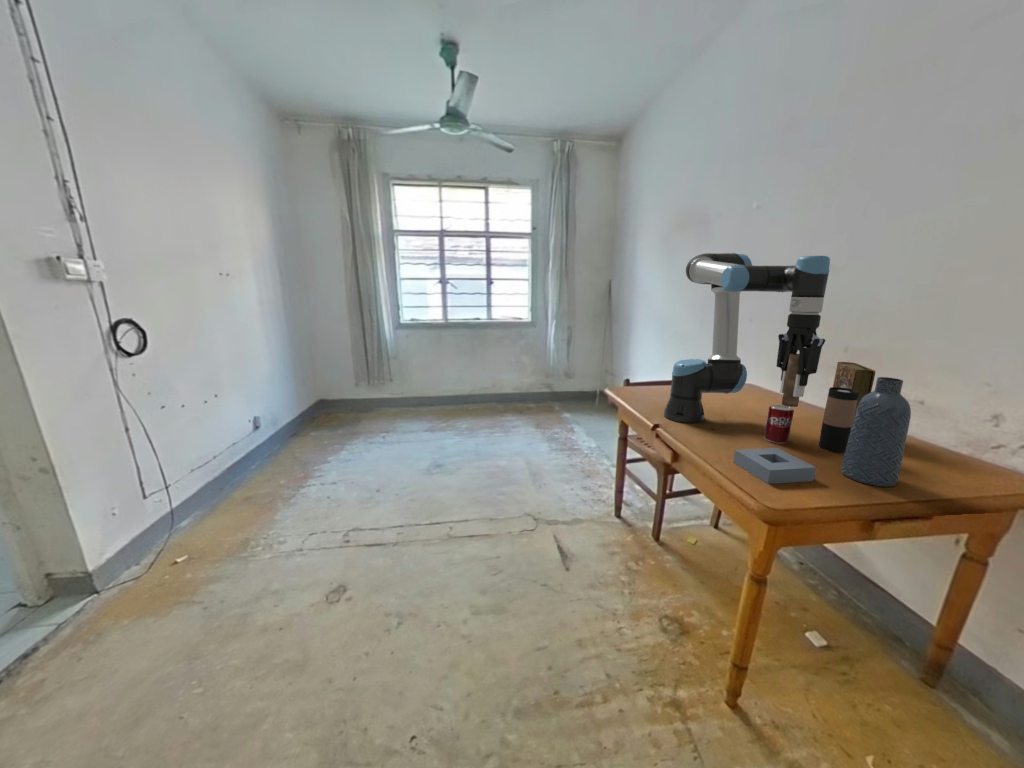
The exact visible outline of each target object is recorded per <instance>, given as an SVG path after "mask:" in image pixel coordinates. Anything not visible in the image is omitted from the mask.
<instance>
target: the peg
mask: <svg viewBox="0 0 1024 768" xmlns="http://www.w3.org/2000/svg"><path fill="white" fill-rule="evenodd" d="M797 373H799V353H797V354H790V355H789V361H788V367H787V374H786V380H785V386H784V392H783V393H782V399H781V405H784V406H788V407H791V408H797V407H798V406H799V403H800V402H799V401H800V397H794V396H793V392H794V386H795V380H796V374H797ZM798 408H799V407H798Z"/></svg>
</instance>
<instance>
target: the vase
mask: <svg viewBox="0 0 1024 768" xmlns="http://www.w3.org/2000/svg"><path fill="white" fill-rule="evenodd" d="M903 384H904V380H903V379H900V378H895V377H885V376H883V377H882V376H881V377H880V376H879V377H877V379H876V382H875V387H874V390H873V391H871V393H868V394H867V395H865V396H864V397H863V398H862V399H861V400H860V401H859V403H858V405H857V408H856V412H855V415H854V419H853V423H852V427H851V431H850V434H849V438H848V442H847V446H846V450H845V452H844V453H843V454H844V455H843V458H842V461H841V467H840V470H841V471H840V472H841V473H842V474H843V475H844V476H845V477H847V478H849V479H851V480H853V481H856V482H858V483H863V484H866V485H870V486H876V487H886V488H888V487H894V486H896V485H897V484H898V482H899V479H900V473H901V469H902V462H903V459H904V458H903V457H904V453H905V449H906V448H905V447H906V442H907V437H908V432H909V428H910V422H911V417H912V416H911V415H912V409H911V405H910V403H909V401H908V400H907V399H906V398H905V396H903V395H902V394H901V393H902V390H903V389H902V388H903Z"/></svg>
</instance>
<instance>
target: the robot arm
mask: <svg viewBox="0 0 1024 768" xmlns="http://www.w3.org/2000/svg"><path fill="white" fill-rule="evenodd" d="M830 263H831V258H830V257H829V256H827V255H804V256H799V257H798V258H797V260H796V262H795V265H753V263H752V260H751V259H750V257H749V256H748V255H747V254H743V253H735V252H731V253H729V252H727V253H709V252H708V253H702V254H699V255H695V256H694V257H692V258H691V259H690V260H689V261H688V262H687V265H686V267H685V275H686V277H687V279H688V280H689V281H690V282H692V283H695V284H699V285H710V286H711V287H710V290H711V292H713V294H714V309H713V310H714V311H713V313H714V314H713V332H712V333H713V334H712V349H711V350H712V353H711V355H710V356H709V358H707V361H706V360H704V359H702V358H701V359H699V358H695V359H694V358H688V359H687V358H686V359H682V360H678V361H676V362H675V363H674V365H673V368H672V373H671V375H672V376H671V384H670V385H671V386H670V395H669V398H668V402H667V403H666V405H665V407H664V410H663V416H664V418H666V419H668V420H670V419H671V421H674V422H677V423H678V422H679V423H685V424H686V423H688V424H697V423H698V424H699V423H701V422H703V421H705V410H704V406H703V402H702V397H703V393H704V394H705V393H706V394H735V393H739V392H740V391H741V390H742V389H743V388H744V386H745V384H746V382H747V376H748V371H747V367H746V366H745V365H744V364H742V363H741V361H742V359H741V358H740V357H739V356H738V354H737V353H738V339H739V338H738V335H739V315H740V297H741V296H740V295H741V292H769V293H771V292H774V293H787V292H788V293H790V292H791V295H790V303H789V304H790V305H789V312H790V313H789V314H788V315H787V316H788V317H787V322H786V326H787V327H788V330H787V331H786V333H779V334H778V336H777V338H778V342H779V343H778V349H777V357H776V359H777V360H776V368H780V369H781V375H780V381H781V383H780V384H781V385H780V389H779V393H780V394H783V392H784V386H785V380H786V374H787V367H788V361H789V355H790V354H799V373H797V374H796V380H795V386H794V392H793V396H794V397H799V398H803V397H804V395H805V394H804V393H805V390H806V389H805V388H806V386H807V385H808V381H809V376H810V375H814V374H817V371H818V367H819V362H820V359H821V352H822V349H823V346H824V344H825V342H826V339H825V338H820V337H819V336H818V335H817V329H818V328H819V327H820V323H821V319H822V316H821V313H822V312H823V307H824V299H825V294H826V289H827V284H828V278H829V273H830ZM798 352H799V353H798Z"/></svg>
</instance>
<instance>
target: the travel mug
mask: <svg viewBox="0 0 1024 768" xmlns="http://www.w3.org/2000/svg"><path fill="white" fill-rule="evenodd" d="M858 395H859V391H858V392H854V391H852V390H851V389H848V388H840V387H833V386H831V387H830V388H828V394H827V398H826V403H825V408H824V414H823V418H822V422H821V430H820V435H819V443H818V447H819V448H820V449H821V450H824V451H827V452H830V453H838V454H842V453H843V454H844V453H845V450H846V446H847V442H848V438H849V434H850V431H851V427H852V423H853V419H854V415H855V410H856V405H857V400H858Z"/></svg>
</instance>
